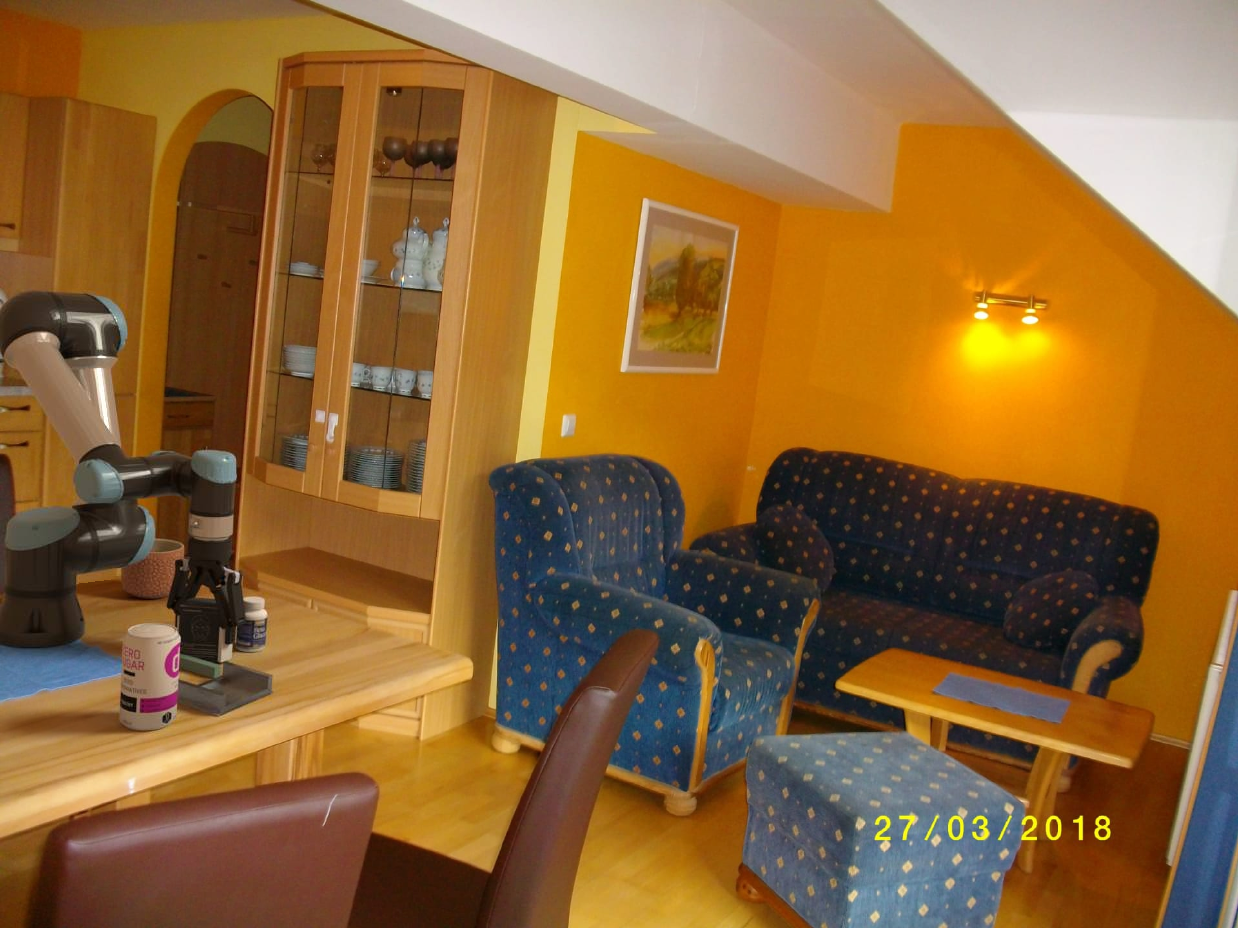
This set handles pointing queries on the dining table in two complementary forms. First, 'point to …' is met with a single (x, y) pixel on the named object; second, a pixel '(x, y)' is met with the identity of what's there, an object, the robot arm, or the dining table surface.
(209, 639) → the box
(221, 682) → the keeper
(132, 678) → the supplement can
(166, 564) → the planter
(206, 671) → the green bar
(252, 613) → the pill bottle
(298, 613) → the dining table surface
